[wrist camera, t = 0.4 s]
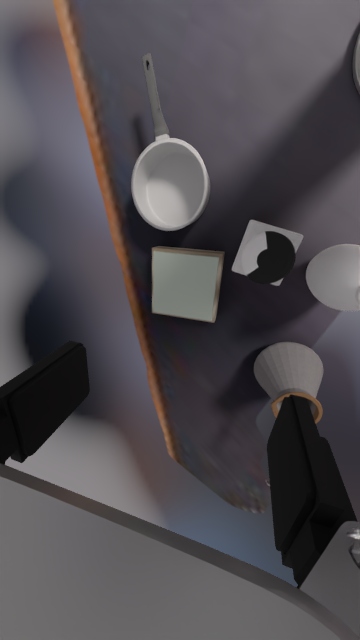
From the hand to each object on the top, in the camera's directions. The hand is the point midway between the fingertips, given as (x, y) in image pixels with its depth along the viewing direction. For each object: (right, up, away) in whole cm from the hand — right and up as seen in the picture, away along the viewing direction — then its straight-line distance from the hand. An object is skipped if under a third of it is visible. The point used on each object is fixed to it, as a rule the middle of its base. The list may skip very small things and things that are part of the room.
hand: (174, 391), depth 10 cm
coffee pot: (+20, -9, +35) cm, 42 cm away
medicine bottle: (+14, +15, +27) cm, 34 cm away
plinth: (+2, +10, +32) cm, 34 cm away
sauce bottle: (+23, +12, +25) cm, 36 cm away
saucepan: (-1, +28, +25) cm, 38 cm away
